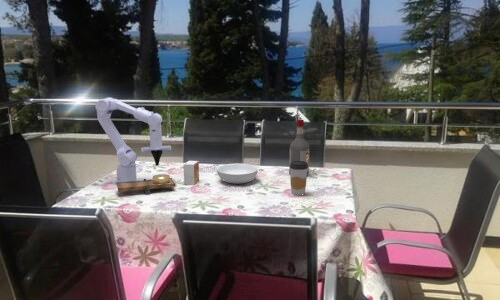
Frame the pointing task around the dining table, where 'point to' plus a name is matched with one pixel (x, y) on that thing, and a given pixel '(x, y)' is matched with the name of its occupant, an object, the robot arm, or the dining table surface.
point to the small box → (191, 172)
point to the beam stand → (147, 189)
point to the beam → (141, 185)
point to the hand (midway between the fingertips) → (157, 165)
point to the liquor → (299, 147)
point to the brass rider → (161, 179)
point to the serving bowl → (237, 172)
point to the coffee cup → (298, 177)
